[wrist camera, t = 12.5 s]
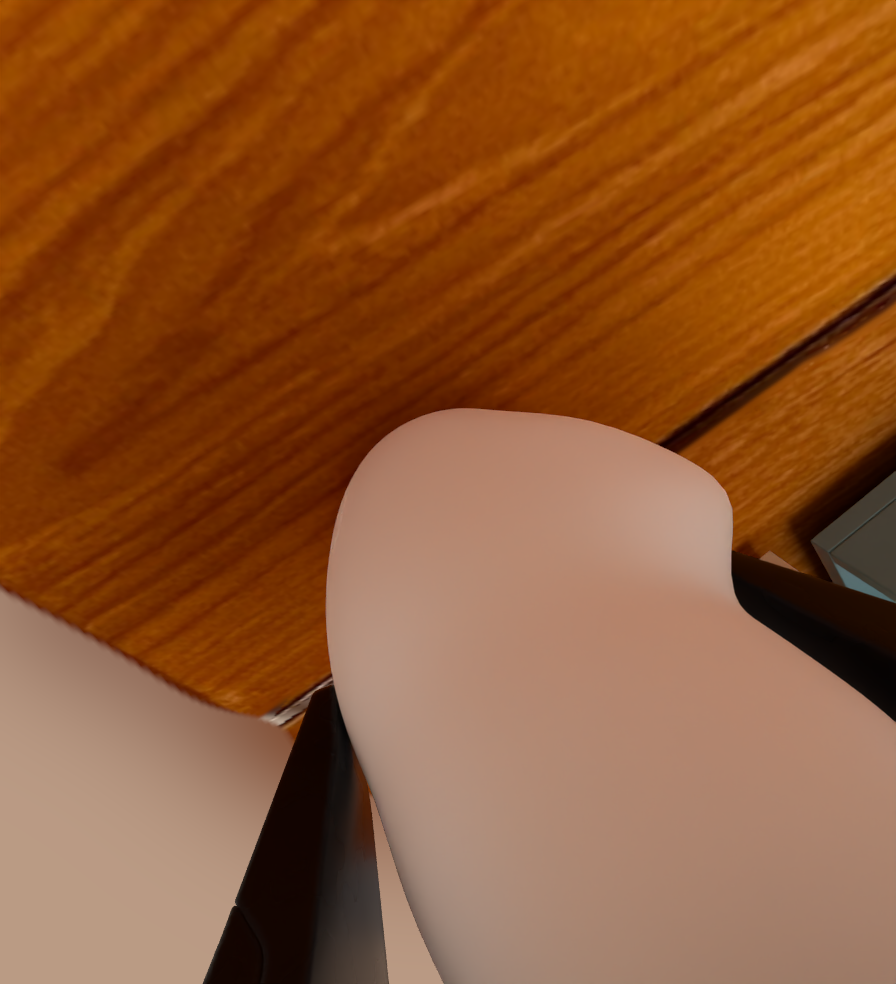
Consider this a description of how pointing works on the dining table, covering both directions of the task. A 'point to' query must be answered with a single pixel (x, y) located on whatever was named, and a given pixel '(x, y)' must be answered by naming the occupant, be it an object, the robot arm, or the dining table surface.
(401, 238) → the dining table surface
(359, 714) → the figurine
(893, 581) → the drawer
